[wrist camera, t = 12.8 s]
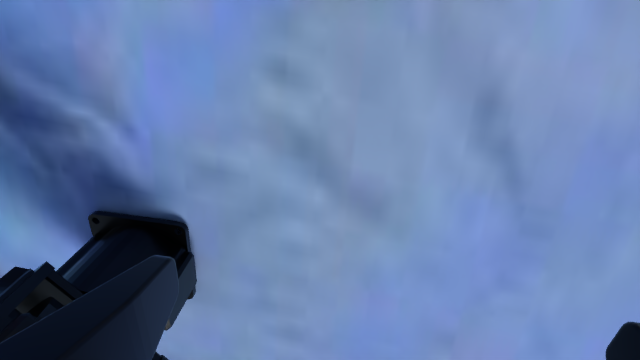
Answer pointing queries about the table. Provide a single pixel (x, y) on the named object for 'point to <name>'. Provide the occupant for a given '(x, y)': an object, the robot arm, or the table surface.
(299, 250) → the table surface
